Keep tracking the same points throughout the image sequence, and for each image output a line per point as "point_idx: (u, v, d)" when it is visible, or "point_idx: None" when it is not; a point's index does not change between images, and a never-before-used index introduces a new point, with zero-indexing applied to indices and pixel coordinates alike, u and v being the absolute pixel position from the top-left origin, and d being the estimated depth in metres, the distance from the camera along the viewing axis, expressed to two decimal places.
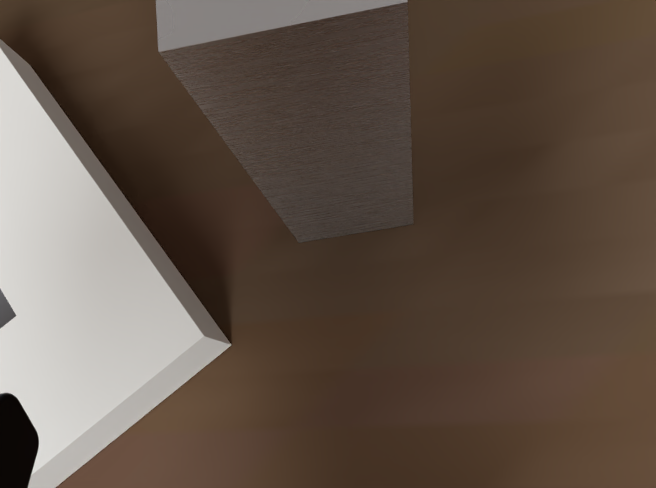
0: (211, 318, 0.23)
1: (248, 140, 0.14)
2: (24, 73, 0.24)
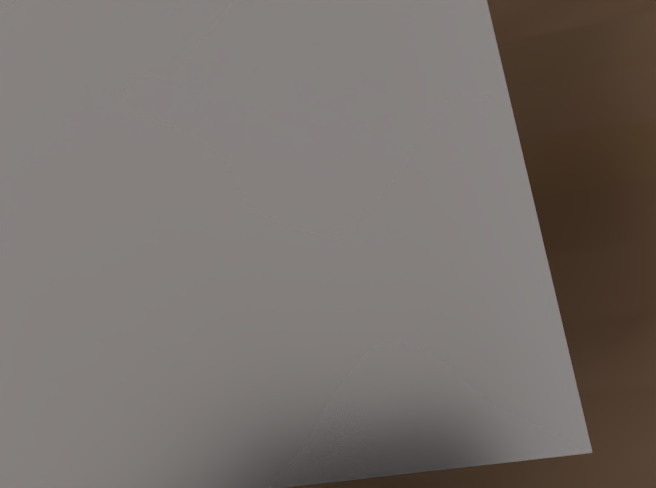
0: None
1: None
2: None
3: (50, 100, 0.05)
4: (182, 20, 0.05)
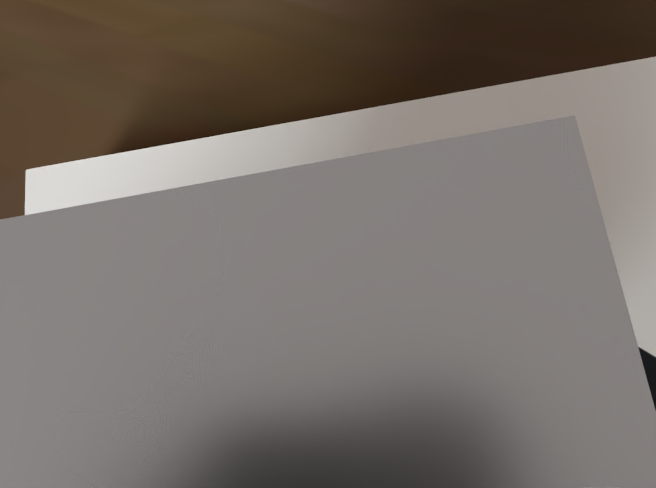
0: None
1: None
2: None
3: None
4: (145, 308, 0.03)
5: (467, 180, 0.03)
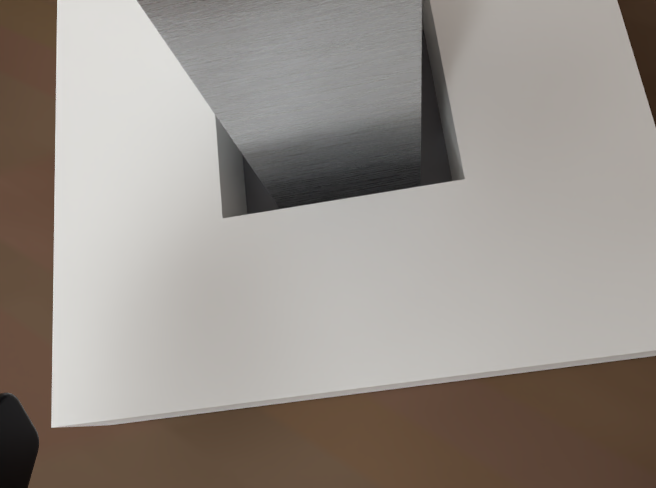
0: None
1: (190, 28, 0.10)
2: None
3: None
4: None
5: None
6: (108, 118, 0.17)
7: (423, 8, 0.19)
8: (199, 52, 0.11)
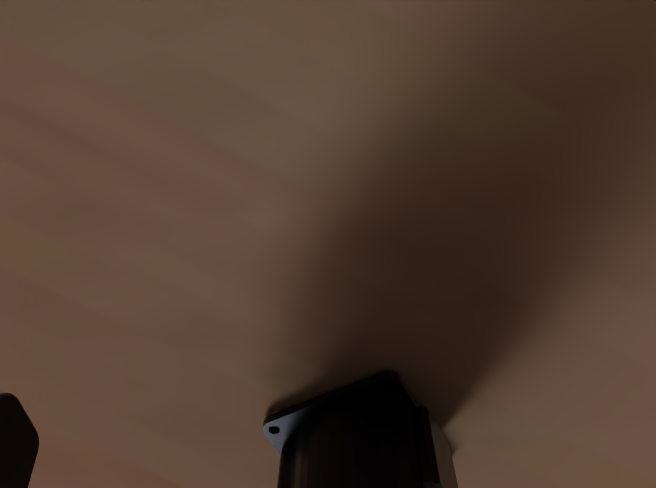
0: None
1: None
2: None
3: None
4: None
5: None
6: None
7: None
8: None
